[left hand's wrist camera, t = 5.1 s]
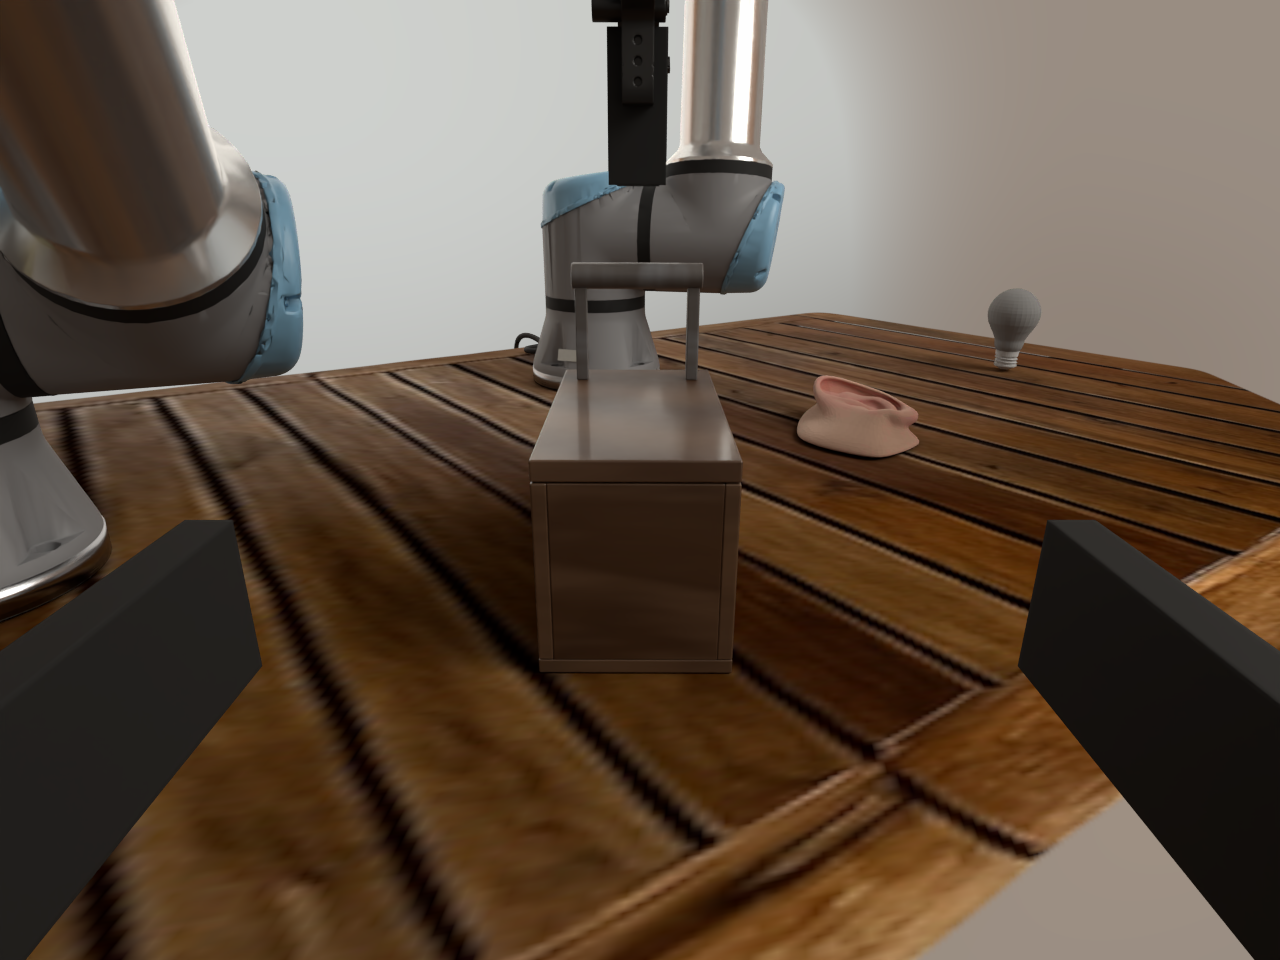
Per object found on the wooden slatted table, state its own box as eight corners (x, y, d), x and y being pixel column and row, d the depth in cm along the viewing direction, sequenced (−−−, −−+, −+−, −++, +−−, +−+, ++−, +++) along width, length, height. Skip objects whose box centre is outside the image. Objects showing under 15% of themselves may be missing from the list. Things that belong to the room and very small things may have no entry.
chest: (570, 523, 52) (565, 387, 49) (703, 524, 52) (708, 387, 49) (539, 672, 36) (529, 483, 33) (731, 673, 36) (741, 484, 33)
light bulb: (986, 373, 95) (999, 291, 91) (973, 363, 101) (986, 285, 97) (1037, 374, 94) (1052, 292, 91) (1021, 364, 100) (1036, 286, 96)
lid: (566, 384, 49) (562, 258, 46) (707, 385, 49) (712, 259, 46) (529, 482, 33) (519, 296, 30) (742, 483, 33) (752, 296, 30)
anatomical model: (917, 417, 62) (779, 402, 66) (910, 463, 63) (776, 445, 68) (932, 383, 73) (813, 371, 78) (927, 422, 75) (810, 409, 79)
